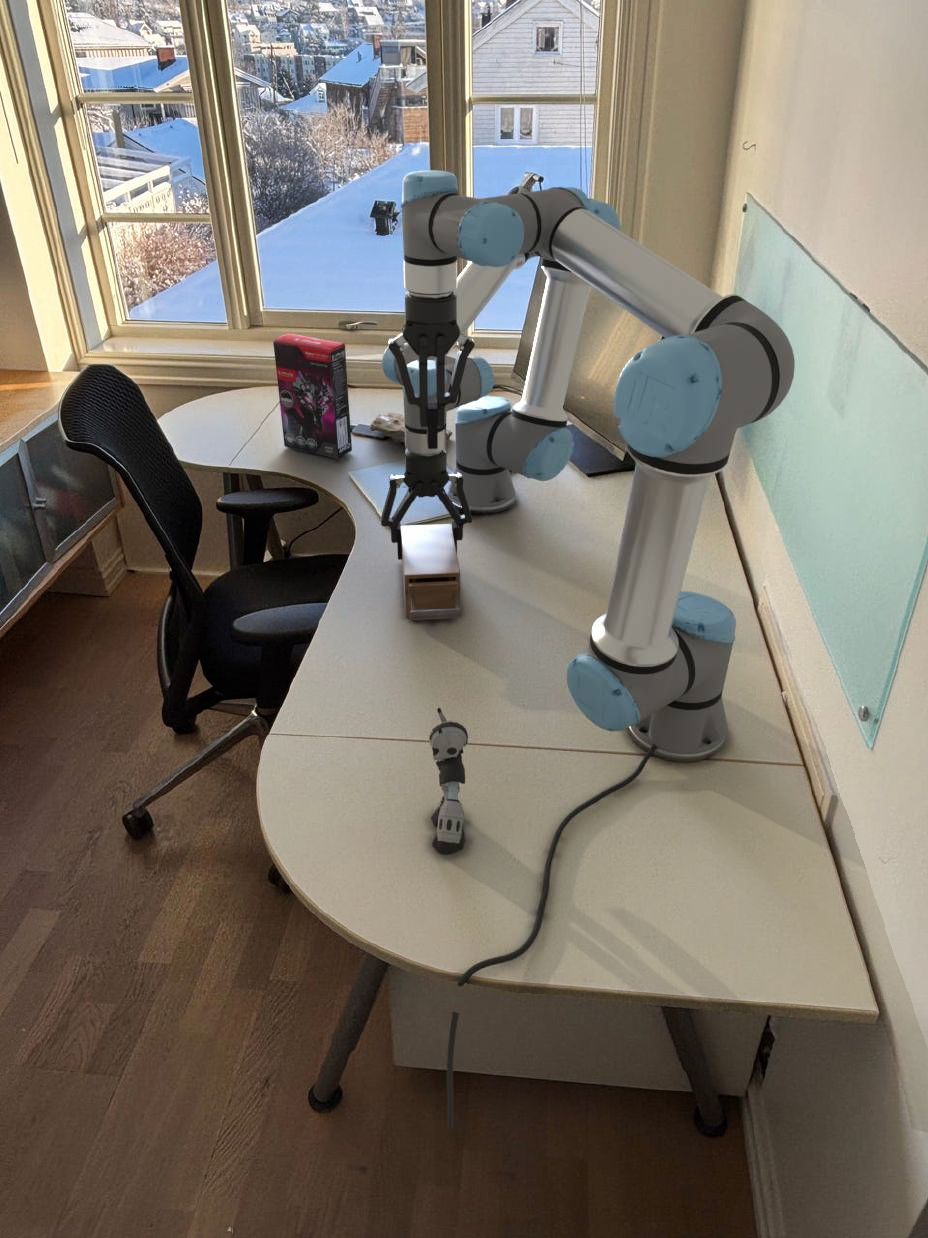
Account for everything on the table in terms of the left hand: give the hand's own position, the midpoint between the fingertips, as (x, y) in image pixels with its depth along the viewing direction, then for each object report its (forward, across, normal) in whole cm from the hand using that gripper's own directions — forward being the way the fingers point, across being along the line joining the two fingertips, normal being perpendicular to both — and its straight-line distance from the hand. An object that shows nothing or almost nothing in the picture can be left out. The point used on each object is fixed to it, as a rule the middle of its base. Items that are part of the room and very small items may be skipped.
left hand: (427, 555), depth 180 cm
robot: (+4, +2, +68) cm, 69 cm away
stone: (+4, +1, -65) cm, 65 cm away
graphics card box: (+4, +24, -62) cm, 66 cm away
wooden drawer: (+3, 0, +12) cm, 13 cm away
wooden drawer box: (+4, 0, +6) cm, 7 cm away
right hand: (-32, 0, +21) cm, 38 cm away
